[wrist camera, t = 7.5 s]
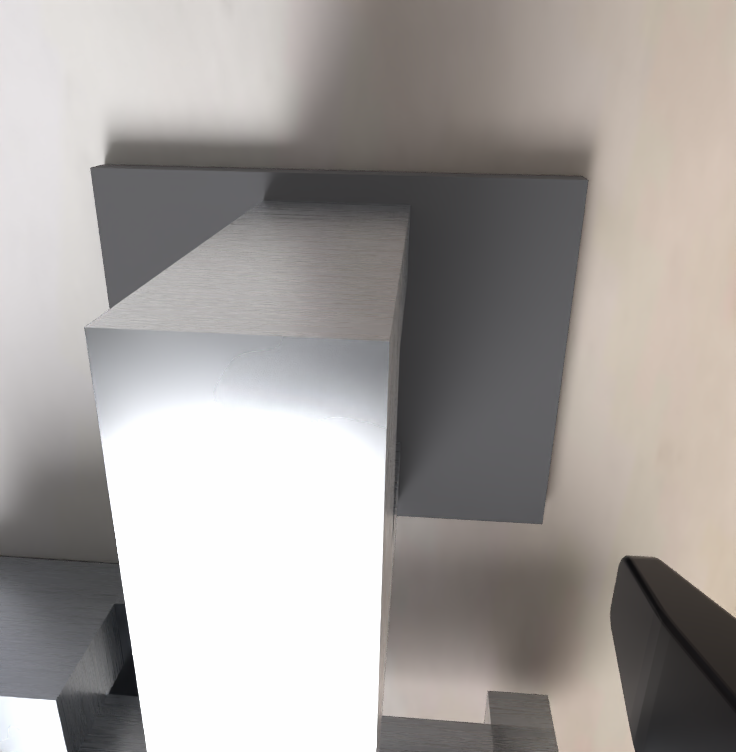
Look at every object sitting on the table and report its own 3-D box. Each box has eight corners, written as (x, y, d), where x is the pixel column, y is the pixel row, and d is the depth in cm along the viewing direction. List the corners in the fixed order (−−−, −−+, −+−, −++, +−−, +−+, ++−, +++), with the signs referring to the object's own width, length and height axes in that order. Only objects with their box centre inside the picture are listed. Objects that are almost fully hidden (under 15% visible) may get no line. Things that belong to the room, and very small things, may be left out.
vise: (547, 591, 18) (582, 742, 14) (520, 777, 21) (543, 949, 17) (-22, 554, 19) (-145, 684, 15) (24, 736, 22) (-70, 888, 18)
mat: (581, 176, 14) (588, 180, 13) (538, 510, 17) (541, 524, 17) (102, 164, 15) (90, 168, 14) (145, 487, 18) (135, 500, 17)
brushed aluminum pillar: (410, 205, 14) (388, 341, 7) (397, 500, 17) (373, 829, 9) (263, 200, 14) (83, 327, 7) (274, 493, 17) (155, 809, 10)
